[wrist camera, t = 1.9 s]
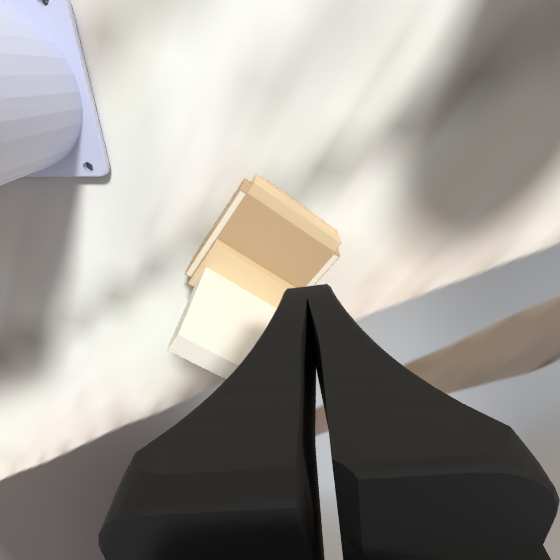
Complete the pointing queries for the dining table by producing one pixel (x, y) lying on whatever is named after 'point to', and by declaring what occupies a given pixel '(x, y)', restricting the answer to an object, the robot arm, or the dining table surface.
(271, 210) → the carton
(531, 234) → the dining table surface
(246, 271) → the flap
